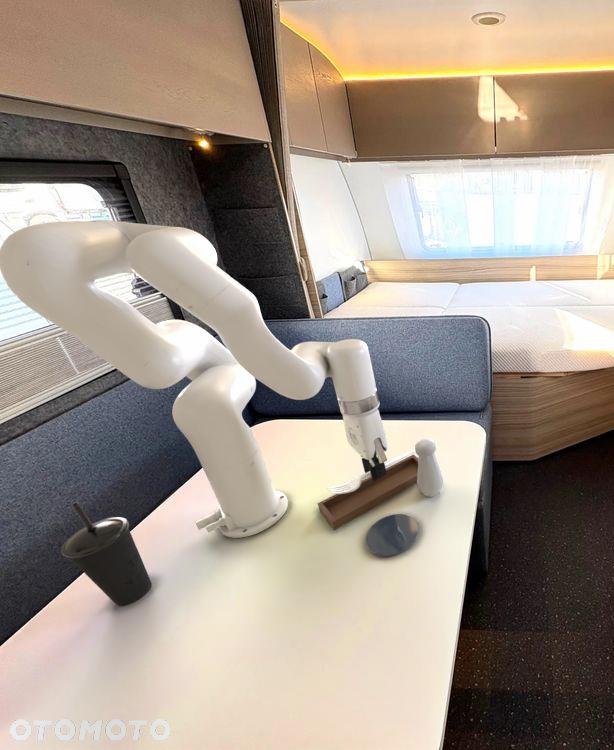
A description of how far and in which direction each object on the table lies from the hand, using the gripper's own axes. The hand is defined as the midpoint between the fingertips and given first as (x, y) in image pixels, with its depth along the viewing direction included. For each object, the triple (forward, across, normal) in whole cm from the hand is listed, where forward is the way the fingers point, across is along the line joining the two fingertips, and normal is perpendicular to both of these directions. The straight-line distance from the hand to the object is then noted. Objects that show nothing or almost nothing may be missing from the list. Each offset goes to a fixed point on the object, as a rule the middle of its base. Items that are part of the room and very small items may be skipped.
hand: (375, 473), depth 85 cm
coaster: (+5, +13, -4) cm, 15 cm away
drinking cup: (+5, -8, -42) cm, 43 cm away
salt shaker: (+5, +8, +8) cm, 13 cm away
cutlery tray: (+5, 0, 0) cm, 5 cm away
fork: (0, 0, 0) cm, 0 cm away
